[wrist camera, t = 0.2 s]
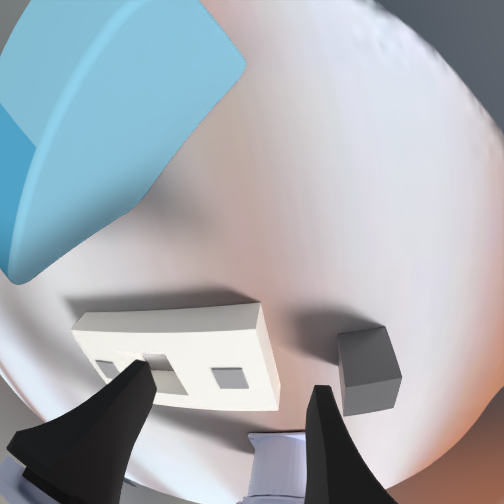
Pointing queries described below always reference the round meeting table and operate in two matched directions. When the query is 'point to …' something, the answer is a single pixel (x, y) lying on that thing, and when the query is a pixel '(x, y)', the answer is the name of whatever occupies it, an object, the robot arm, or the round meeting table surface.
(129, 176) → the data package
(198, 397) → the white socket board
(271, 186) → the round meeting table surface
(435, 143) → the round meeting table surface
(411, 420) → the round meeting table surface
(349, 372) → the plug
